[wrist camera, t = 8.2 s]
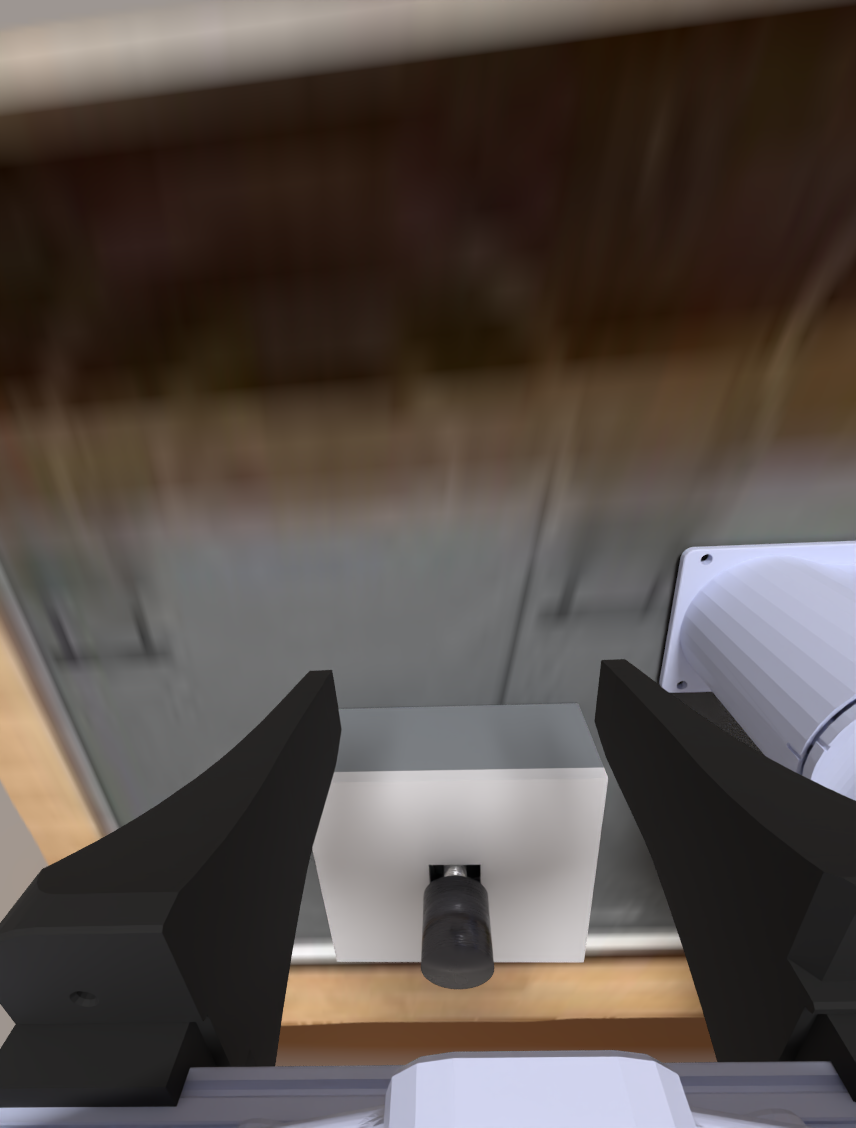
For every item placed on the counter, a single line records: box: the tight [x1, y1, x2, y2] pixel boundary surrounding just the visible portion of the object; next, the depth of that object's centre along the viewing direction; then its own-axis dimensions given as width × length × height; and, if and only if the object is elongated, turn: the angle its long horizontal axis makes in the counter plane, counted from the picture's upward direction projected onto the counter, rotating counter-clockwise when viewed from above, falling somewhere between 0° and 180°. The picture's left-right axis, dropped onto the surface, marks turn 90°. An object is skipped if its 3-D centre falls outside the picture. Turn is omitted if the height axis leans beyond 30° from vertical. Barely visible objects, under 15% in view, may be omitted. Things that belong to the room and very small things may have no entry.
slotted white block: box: [312, 703, 608, 962], centre depth 26 cm, size 14×14×5 cm
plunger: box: [421, 865, 494, 989], centre depth 24 cm, size 11×11×8 cm
